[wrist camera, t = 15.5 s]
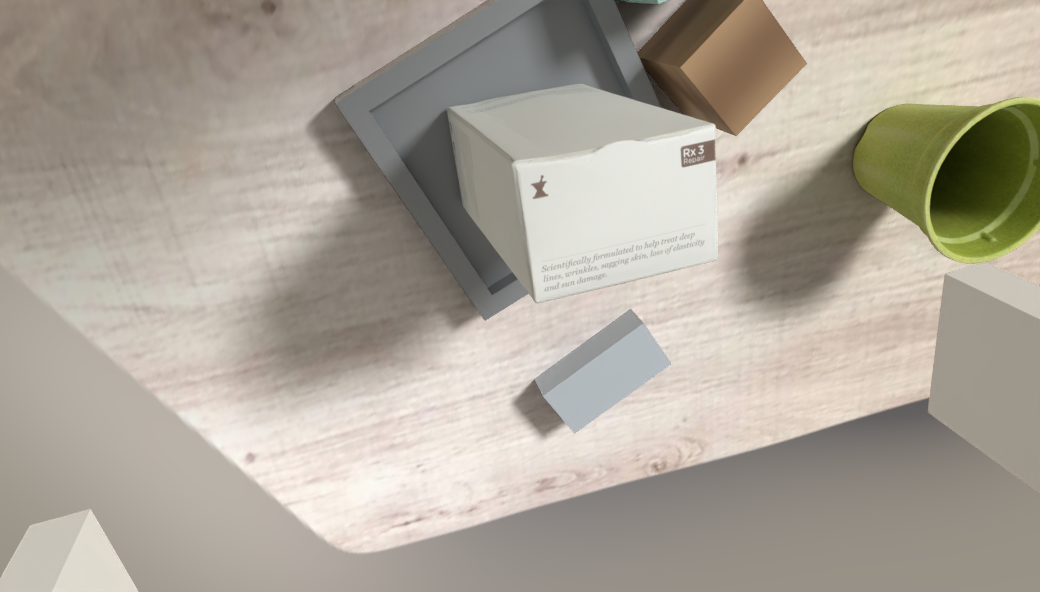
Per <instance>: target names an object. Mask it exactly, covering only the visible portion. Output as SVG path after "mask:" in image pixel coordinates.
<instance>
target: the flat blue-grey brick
mask: <svg viewBox="0 0 1040 592" xmlns="http://www.w3.org/2000/svg"><path fill="white" fill-rule="evenodd" d="M669 365H671V362H670V361H669V360H668V358H667V357H666V355H665V354H664V352H663V351H662V349H661V348H660V346H659V345H658V344H657V342H656V341H655V339H654V338H653V336H652V335H651V333H650V332H649V330H648V329H647V328H646V326H645V325H644V323H643V322H642V321H641V320H640V319H639V318H638V316H637V315H636V314H635V313H634V312H633V311H632V310H631V309H630V310H628V311H627V312H626V313H624V314H623V315H621V316H620V317H619V318H617V319H616V320H615V321H613V322H612V323H611V324H609V325H608V326H606V327H605V328H604V329H602V330H601V331H600V332H598V333H597V334H595V335H594V336H593V337H591V338H590V339H589V340H587V341H586V342H585V343H583V344H582V345H580V346H579V347H578V348H576V349H575V350H574V351H572V352H571V353H569V354H568V355H567V356H565V357H564V358H563V359H561V360H560V361H558V362H557V363H556V364H554V365H553V366H552V367H550V368H549V369H548V370H546V371H545V372H543V373H542V374H541V375H539V376H538V377H537V378H535V381H536V383H537V385H538V387H539V389H540V391H541V394H542V396H543V397H544V398H545V399H546V401H547V402H548V403H549V404H550V405H551V406H552V408H553V409H554V410H555V411H556V412H557V414H558V415H559V416H560V417H561V418H562V419H563V421H564V422H565V423H566V424H567V425H568V426H569V428H570V429H571V430H572V431H573V432H574V434H575V433H576V432H577V431H579V430H580V429H582V428H583V427H584V426H586V425H587V424H588V423H590V422H591V421H593V420H594V419H595V418H597V417H598V416H600V415H601V414H602V413H604V412H605V411H607V410H608V409H609V408H611V407H612V406H613V405H615V404H616V403H618V402H619V401H620V400H622V399H623V398H625V397H626V396H627V395H629V394H630V393H632V392H633V391H634V390H636V389H637V388H639V387H640V386H641V385H643V384H644V383H645V382H647V381H648V380H650V379H651V378H652V377H654V376H655V375H657V374H658V373H659V372H661V371H662V370H664V369H665V368H666V367H668V366H669Z"/></svg>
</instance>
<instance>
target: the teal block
mask: <svg viewBox="0 0 1040 592" xmlns="http://www.w3.org/2000/svg"><path fill="white" fill-rule="evenodd" d="M614 1H621V2H634V3H648V4H660V3H663V2H665V1H668V0H614Z"/></svg>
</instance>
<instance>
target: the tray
mask: <svg viewBox="0 0 1040 592" xmlns="http://www.w3.org/2000/svg"><path fill="white" fill-rule="evenodd" d="M573 84H585V85H587V86H590V87H594V88H597V89H600V90H603V91H607V92H610V93H613V94H616V95H620V96H623V97H626V98H630V99H633V100H636V101H639V102H643V103H646V104H649V105H653V106H656V107H660V108H661V105H660V103H659V101H658V99H657V96H656V94H655V92H654V90H653V87H652V85H651V83H650V80H649V78H648V76H647V74H646V71H645V69H644V67H643V65H642V62H641V60H640V58H639V56H638V53H637V51H636V49H635V46H634V44H633V42H632V40H631V37H630V35H629V33H628V31H627V28H626V26H625V24H624V21H623V19H622V17H621V15H620V12H619V10H618V8H617V6H616V3H615V1H614V0H487V1H486V2H484V3H482V4H481V5H479V6H478V7H476V8H475V9H473V10H471V11H470V12H468V13H467V14H465V15H464V16H462V17H460V18H459V19H457V20H456V21H454V22H453V23H451V24H449V25H448V26H446V27H445V28H443V29H442V30H440V31H439V32H437V33H435V34H434V35H432V36H431V37H429V38H428V39H426V40H424V41H423V42H421V43H420V44H418V45H417V46H415V47H413V48H412V49H410V50H409V51H407V52H406V53H404V54H402V55H401V56H399V57H398V58H396V59H395V60H393V61H392V62H390V63H388V64H387V65H385V66H384V67H382V68H381V69H379V70H377V71H376V72H374V73H373V74H371V75H370V76H368V77H366V78H365V79H363V80H362V81H360V82H359V83H357V84H355V85H354V86H352V87H351V88H349V89H348V90H346V91H345V92H343V93H341V94H340V95H338V96H337V97H335V104H336V105H337V107H338V108H339V110H340V111H341V113H342V114H343V116H344V117H345V118H346V120H347V121H348V123H349V124H350V126H351V127H352V129H353V130H354V131H355V133H356V134H357V136H358V137H359V139H360V140H361V142H362V143H363V145H364V146H365V147H366V149H367V150H368V152H369V153H370V155H371V156H372V158H373V159H374V161H375V162H376V163H377V165H378V166H379V168H380V169H381V171H382V172H383V174H384V175H385V177H386V178H387V179H388V181H389V182H390V184H391V185H392V187H393V188H394V190H395V191H396V192H397V194H398V195H399V197H400V198H401V200H402V201H403V203H404V204H405V206H406V207H407V208H408V210H409V211H410V213H411V214H412V216H413V217H414V219H415V220H416V222H417V223H418V224H419V226H420V227H421V229H422V230H423V232H424V233H425V235H426V236H427V238H428V239H429V240H430V242H431V243H432V245H433V246H434V248H435V249H436V251H437V252H438V253H439V255H440V256H441V258H442V259H443V261H444V262H445V264H446V265H447V267H448V268H449V269H450V271H451V272H452V274H453V275H454V277H455V278H456V280H457V281H458V283H459V284H460V285H461V287H462V288H463V290H464V291H465V293H466V294H467V296H468V297H469V299H470V300H471V301H472V303H473V304H474V306H475V307H476V309H477V310H478V312H479V313H480V314H481V316H482V317H483V319H484V320H485V321H486V320H487V319H489V318H490V317H492V316H493V315H495V314H497V313H498V312H500V311H501V310H503V309H505V308H506V307H508V306H509V305H511V304H513V303H514V302H516V301H517V300H519V299H521V298H522V297H524V296H525V295H527V294H529V293H528V292H527V290H526V289H525V288H524V287H523V285H522V284H521V283H520V281H519V280H518V279H517V277H516V276H515V275H514V273H513V272H512V271H511V270H510V268H509V267H508V266H507V264H506V263H505V262H504V260H503V259H502V258H501V256H500V255H499V254H498V252H497V251H496V250H495V248H494V247H493V246H492V244H491V243H490V242H489V240H488V239H487V238H486V236H485V235H484V234H483V232H482V231H481V230H480V229H479V227H478V226H477V225H476V223H475V222H474V221H473V219H472V218H471V217H470V215H469V214H468V213H467V211H466V210H465V208H464V207H463V204H462V198H461V192H460V186H459V180H458V174H457V169H456V163H455V157H454V151H453V145H452V139H451V133H450V127H449V120H448V114H447V109H448V107H452V106H459V105H467V104H473V103H477V102H481V101H485V100H489V99H493V98H499V97H504V96H510V95H516V94H521V93H526V92H531V91H538V90H544V89H550V88H556V87H561V86H567V85H573Z"/></svg>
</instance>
